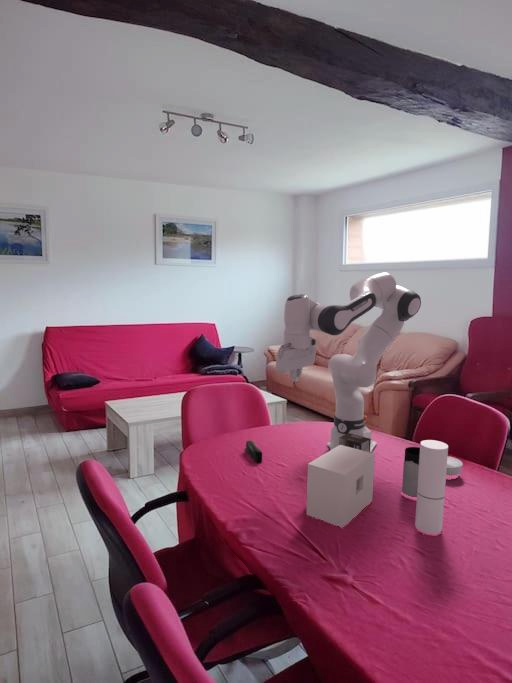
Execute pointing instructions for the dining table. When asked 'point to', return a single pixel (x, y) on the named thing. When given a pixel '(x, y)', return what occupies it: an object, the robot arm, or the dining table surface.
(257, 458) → the mobile phone
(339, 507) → the box
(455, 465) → the ramekin
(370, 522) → the dining table surface
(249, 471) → the dining table surface
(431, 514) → the cylindrical container
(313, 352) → the robot arm
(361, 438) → the coffee box
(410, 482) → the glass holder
